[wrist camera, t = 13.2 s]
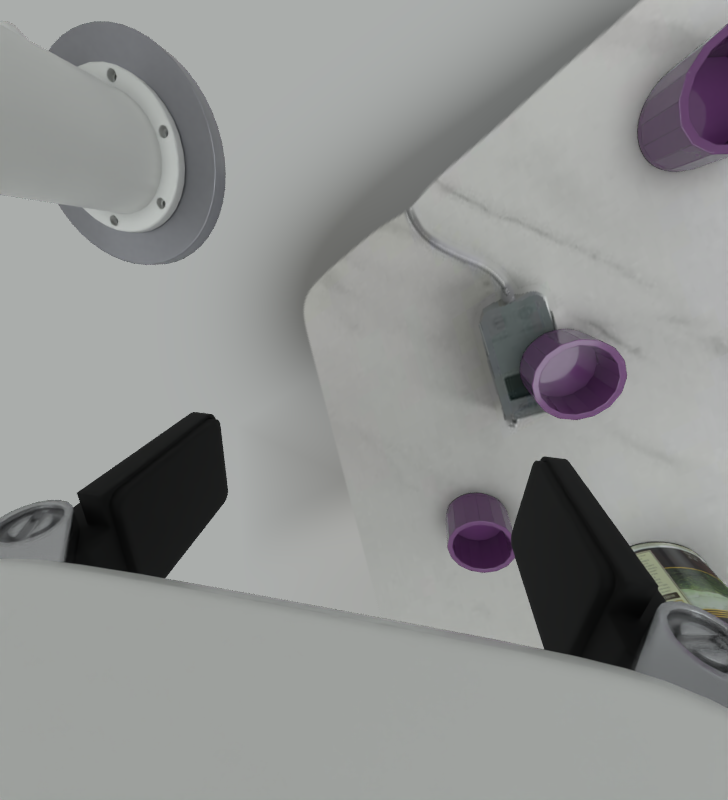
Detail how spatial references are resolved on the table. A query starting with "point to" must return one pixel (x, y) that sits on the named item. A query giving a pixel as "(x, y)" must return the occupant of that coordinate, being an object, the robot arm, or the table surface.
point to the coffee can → (684, 577)
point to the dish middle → (572, 373)
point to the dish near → (689, 110)
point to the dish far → (479, 533)
